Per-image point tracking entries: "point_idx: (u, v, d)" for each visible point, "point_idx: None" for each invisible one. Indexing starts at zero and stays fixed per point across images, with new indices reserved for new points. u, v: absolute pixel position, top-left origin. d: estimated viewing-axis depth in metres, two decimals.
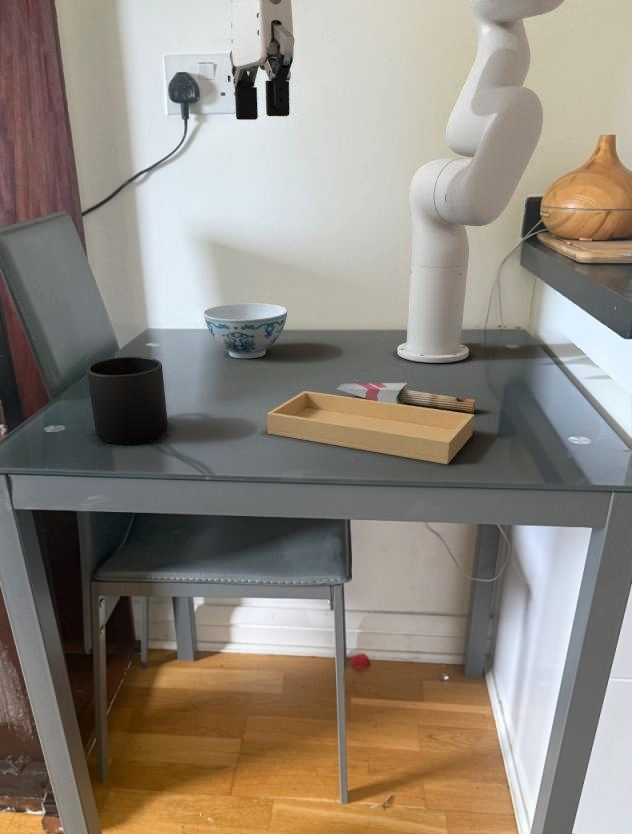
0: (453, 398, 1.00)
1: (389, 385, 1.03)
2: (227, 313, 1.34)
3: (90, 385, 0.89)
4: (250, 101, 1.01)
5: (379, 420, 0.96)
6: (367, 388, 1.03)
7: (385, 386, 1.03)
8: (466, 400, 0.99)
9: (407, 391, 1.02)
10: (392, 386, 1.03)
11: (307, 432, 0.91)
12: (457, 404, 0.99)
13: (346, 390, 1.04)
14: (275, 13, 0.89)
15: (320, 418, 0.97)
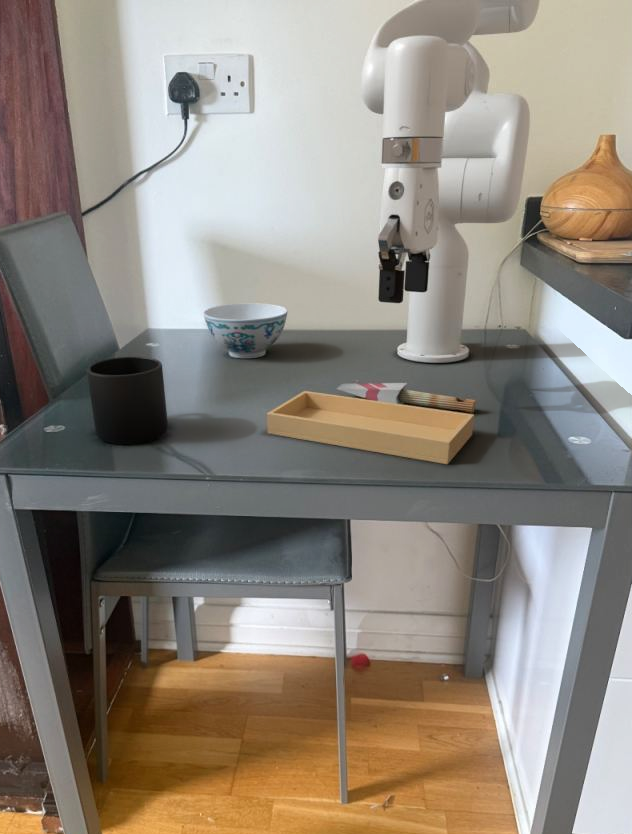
0: (453, 398, 1.00)
1: (389, 385, 1.03)
2: (227, 313, 1.34)
3: (90, 385, 0.89)
4: (418, 275, 0.99)
5: (379, 420, 0.96)
6: (367, 388, 1.03)
7: (385, 386, 1.03)
8: (466, 400, 0.99)
9: (407, 391, 1.02)
10: (392, 386, 1.03)
11: (307, 432, 0.91)
12: (457, 404, 0.99)
13: (346, 390, 1.04)
14: (394, 208, 0.88)
15: (320, 418, 0.97)
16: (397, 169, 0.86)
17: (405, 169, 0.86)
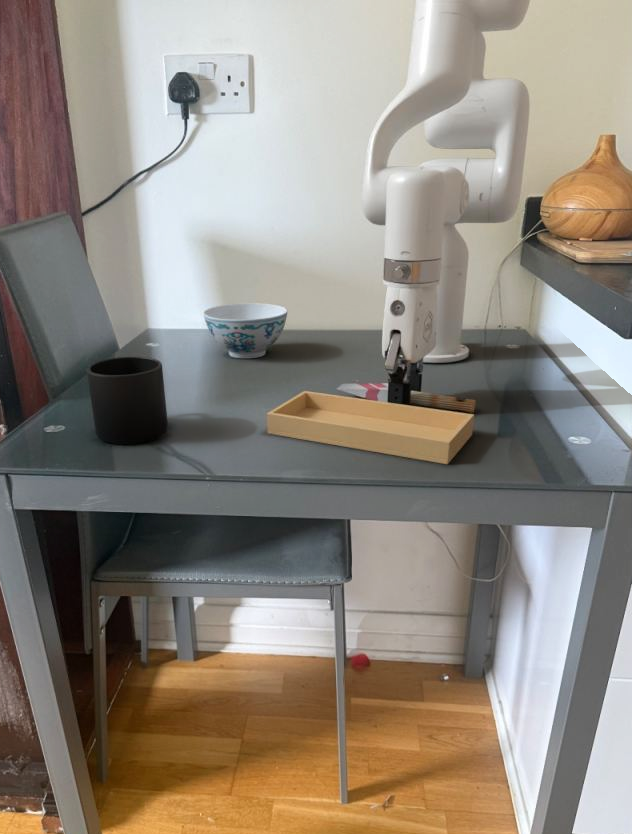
0: (453, 398, 1.00)
1: None
2: (227, 313, 1.34)
3: (90, 385, 0.89)
4: (412, 386, 1.03)
5: (379, 420, 0.96)
6: (367, 388, 1.03)
7: (385, 386, 1.03)
8: (466, 400, 0.99)
9: None
10: None
11: (307, 432, 0.91)
12: (457, 404, 0.99)
13: (346, 390, 1.04)
14: (395, 324, 0.94)
15: (320, 418, 0.97)
16: (398, 289, 0.92)
17: (406, 290, 0.92)
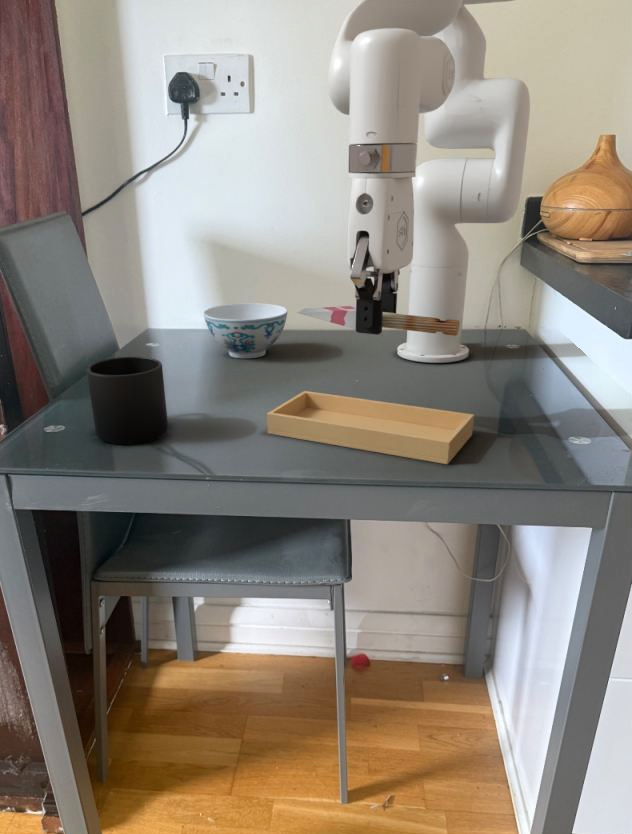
0: (433, 319, 0.84)
1: None
2: (227, 313, 1.34)
3: (90, 385, 0.89)
4: (385, 308, 0.88)
5: (379, 420, 0.96)
6: (332, 310, 0.88)
7: (354, 308, 0.88)
8: (448, 320, 0.83)
9: None
10: None
11: (307, 432, 0.91)
12: (438, 325, 0.84)
13: (308, 313, 0.89)
14: (362, 224, 0.78)
15: (320, 418, 0.97)
16: (365, 180, 0.77)
17: (374, 180, 0.76)
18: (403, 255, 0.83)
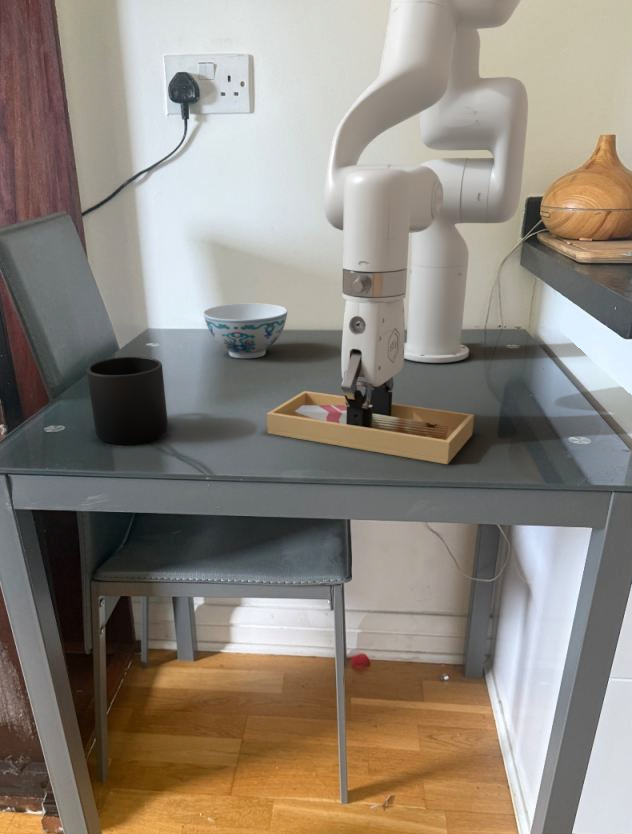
0: (423, 423, 0.89)
1: None
2: (227, 313, 1.34)
3: (90, 385, 0.89)
4: (381, 405, 0.93)
5: None
6: (328, 411, 0.93)
7: None
8: (437, 426, 0.88)
9: (372, 415, 0.91)
10: None
11: (307, 432, 0.91)
12: (427, 430, 0.88)
13: (305, 413, 0.94)
14: (355, 343, 0.83)
15: None
16: (358, 304, 0.82)
17: (366, 305, 0.81)
18: (394, 366, 0.88)
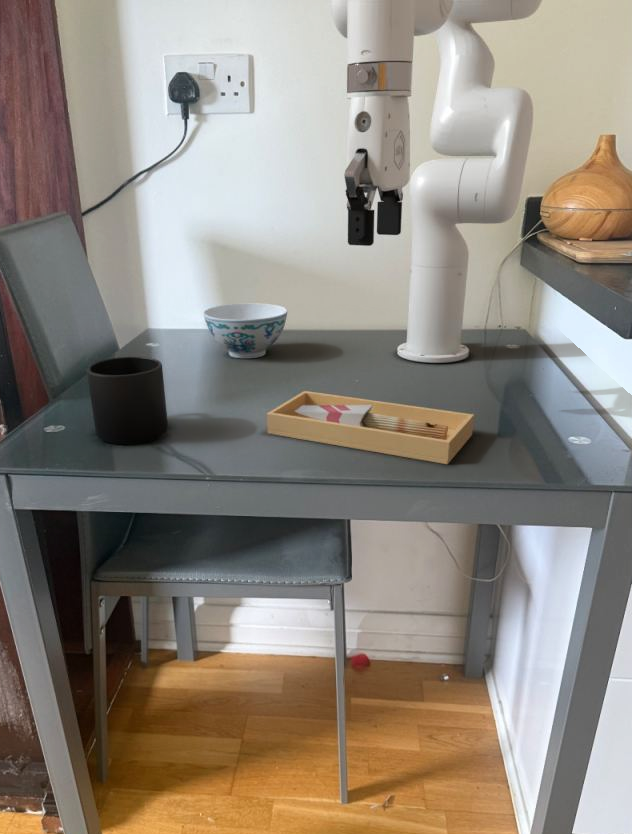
0: (423, 423, 0.89)
1: (353, 408, 0.93)
2: (227, 313, 1.34)
3: (90, 385, 0.89)
4: (391, 216, 0.93)
5: None
6: (328, 411, 0.93)
7: (348, 409, 0.92)
8: (437, 425, 0.88)
9: (372, 415, 0.91)
10: (356, 409, 0.92)
11: (307, 432, 0.91)
12: (427, 430, 0.88)
13: (305, 413, 0.94)
14: (361, 141, 0.82)
15: None
16: (363, 98, 0.80)
17: (372, 97, 0.80)
18: (400, 174, 0.87)
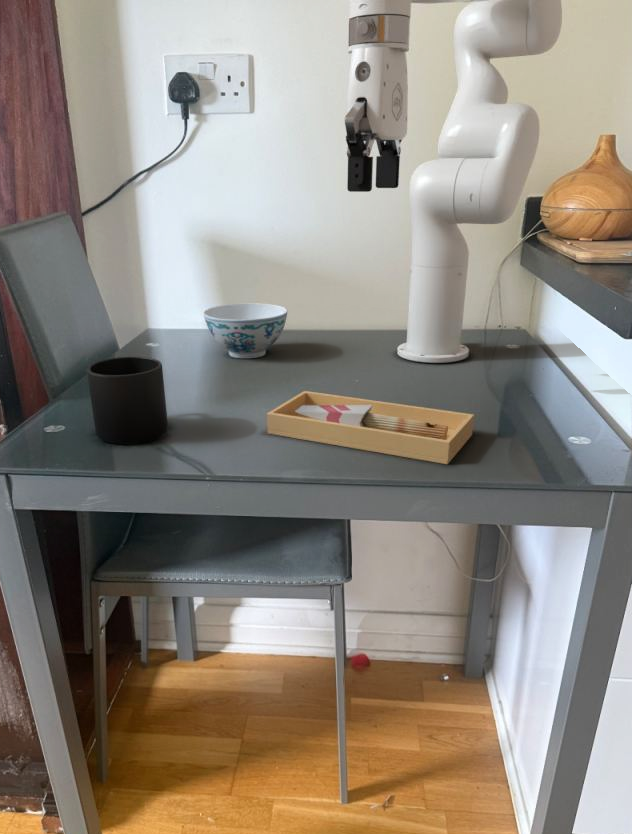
0: (423, 423, 0.89)
1: (353, 408, 0.93)
2: (227, 313, 1.34)
3: (90, 385, 0.89)
4: (389, 170, 0.98)
5: None
6: (328, 411, 0.93)
7: (348, 409, 0.92)
8: (437, 426, 0.88)
9: (372, 415, 0.91)
10: (356, 409, 0.92)
11: (307, 432, 0.91)
12: (427, 430, 0.88)
13: (305, 413, 0.94)
14: (361, 90, 0.87)
15: None
16: (363, 49, 0.85)
17: (371, 48, 0.85)
18: (398, 126, 0.92)
